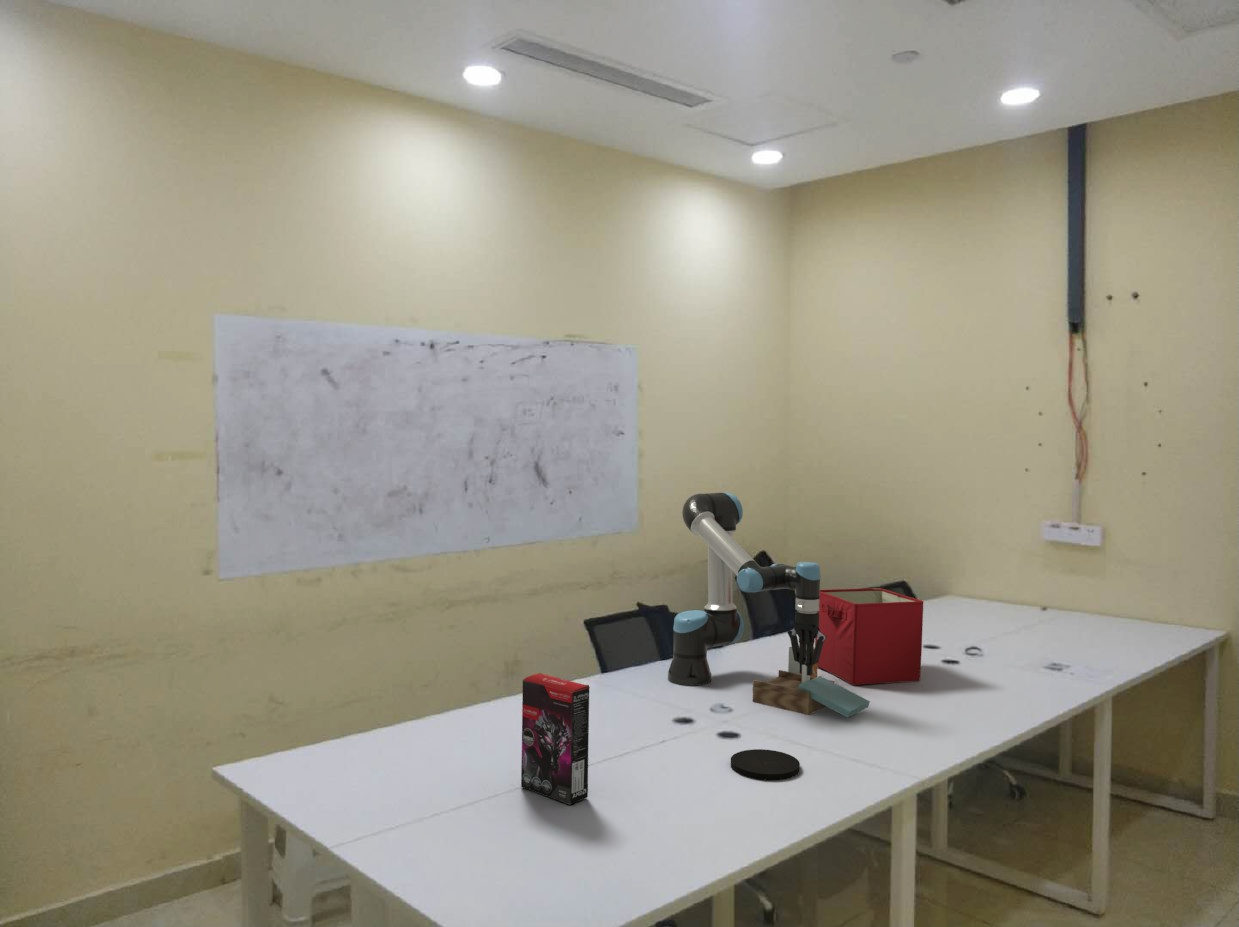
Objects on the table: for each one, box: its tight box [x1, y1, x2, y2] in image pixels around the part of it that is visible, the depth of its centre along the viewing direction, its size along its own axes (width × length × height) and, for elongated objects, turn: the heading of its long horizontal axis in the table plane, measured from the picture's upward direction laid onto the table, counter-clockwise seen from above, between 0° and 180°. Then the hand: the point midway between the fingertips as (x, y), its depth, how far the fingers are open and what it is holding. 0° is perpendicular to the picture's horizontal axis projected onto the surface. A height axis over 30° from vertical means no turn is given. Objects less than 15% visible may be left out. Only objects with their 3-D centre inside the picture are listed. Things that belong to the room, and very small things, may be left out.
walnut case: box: [752, 669, 835, 716], centre depth 301 cm, size 20×17×7 cm
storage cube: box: [814, 587, 924, 686], centre depth 336 cm, size 32×28×29 cm
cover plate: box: [798, 675, 871, 718], centre depth 292 cm, size 18×14×2 cm
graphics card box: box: [520, 673, 590, 805], centre depth 224 cm, size 17×7×27 cm, turn 51°
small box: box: [787, 646, 818, 677], centre depth 321 cm, size 8×6×13 cm
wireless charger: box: [730, 748, 801, 782], centre depth 243 cm, size 18×18×2 cm
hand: (805, 684), depth 298 cm, fingers closed
